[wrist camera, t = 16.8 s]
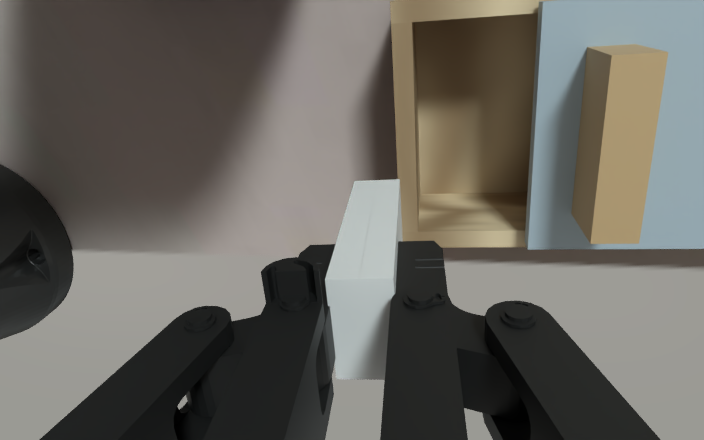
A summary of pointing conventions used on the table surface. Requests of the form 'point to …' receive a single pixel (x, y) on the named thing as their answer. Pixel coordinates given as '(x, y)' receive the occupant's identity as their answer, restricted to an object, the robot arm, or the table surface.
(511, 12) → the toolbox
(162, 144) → the table surface
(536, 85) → the lid
